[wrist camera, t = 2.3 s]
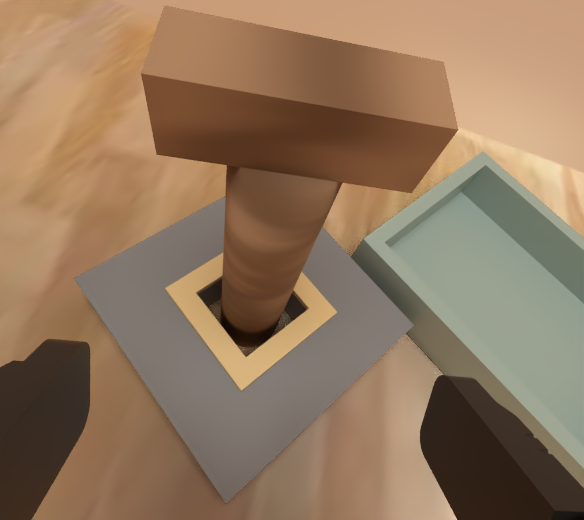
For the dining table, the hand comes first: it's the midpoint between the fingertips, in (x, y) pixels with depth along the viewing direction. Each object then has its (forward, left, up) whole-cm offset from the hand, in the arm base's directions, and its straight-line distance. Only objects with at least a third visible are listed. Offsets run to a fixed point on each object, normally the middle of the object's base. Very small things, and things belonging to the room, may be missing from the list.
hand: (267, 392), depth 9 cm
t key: (-5, +5, -15) cm, 16 cm away
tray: (+6, +20, -15) cm, 25 cm away
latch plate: (-5, +5, -15) cm, 16 cm away
